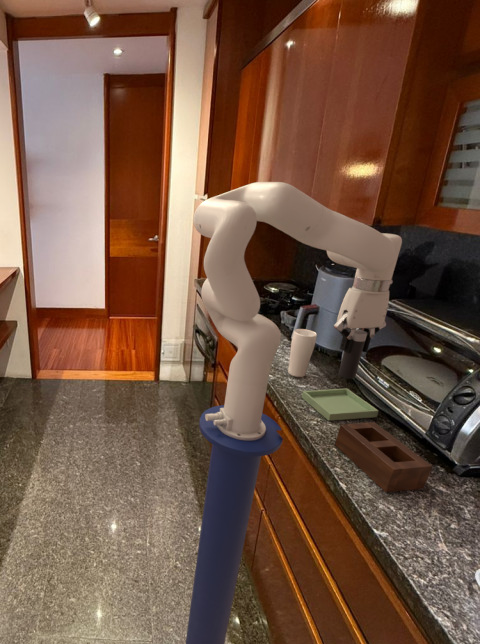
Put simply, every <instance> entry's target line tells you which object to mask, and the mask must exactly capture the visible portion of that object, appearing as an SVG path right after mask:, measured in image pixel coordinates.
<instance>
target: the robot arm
mask: <svg viewBox="0 0 480 644" xmlns="http://www.w3.org/2000/svg"><path fill="white" fill-rule="evenodd" d="M192 221H193V226H194V228H195V230H196V231H197V233H199V234H200V235H201V236H203V237H206V238H209V239H210V241H209V242H208V245H207V247H206V251H205V253H204V257H203V270H204V273H205V276H206V279H205V280H204V282H203V284H202V286H201V289H200V290H201V291H200V296H201V300H202V303H203V306H204V307H205V310H206V312H207V313H208V315H209V317H210V319H211V321H212V323H213V324H214V326H215V328H216V330H217V331H218V333H219V334H220V335H221V336H222V337H223V338H224V339H226V340H227V341H229V342H230V343H231V344H233V345H234V346H236V348H237V352H236V354H235V355H234V356H233V358H232V359H231V361H230V364H229V370H228V376H227V385H226V390H225V398H224V404H223V405H224V408H220V412H217V413H216V414H206V415H205V419H206V421H213V423H214V425H217V427H218V428H219V430H220V431H221V432H223V433H224V434H226V435H227V436H229V437H232V438H235V439H238V440H244V441H252V440H257V439H260V438H261V437H263V436H264V434H265V431H266V427H265V424H264V423H263V422H262V421H261V417H262V413H263V411H264V405H265V401H266V395H267V389H268V385H269V380H270V379H269V378H270V375H271V374H270V373H271V369H272V364H273V362H274V359H275V355H276V353H277V352H278V349H279V347H280V344H281V340H282V335H281V331H280V329H279V327H278V326H277V325H276V323H275V322H273V321H272V320H271V319H270V318H267V317H266V316H264V315H261V314H260V313H259V312H260V308H261V297H260V295H259V293H258V290H257V288H256V285H255V284H254V281H253V279H252V277H251V274H250V272H249V270H248V268H247V264H246V261H245V254H246V253H245V252H246V248H247V247H248V244H249V243H250V240H251V239H252V236H253V235H254V234H255V231H256V229H257V228H256V227H257V222H262V223H265V224H268V225H270V226H272V227H274V228H275V229H276V230H279V231H281V232H283V233H284V234H286V235H288V236H290V238H292V239H295V240H296V241H297V242H300V243H302V244H304V245H307V246H309V247H311V248H315V249H319V250H323V251H326V254H327V257H328V258H329V260H331V261H332V262H334V263H336V264H339V265H341V266H346V267H349V268H355V269H356V270H355V274H354V278H353V282H352V287H349V288H348V290H347V291H346V293H345V295H344V298H343V300H342V303H341V305H340V308H339V312H338V315H337V318H336V323H335V324H333V328H334V329H335V330H336V331H338V332H339V333H340V335H341V336H342V338H341V342H340V345H339V346H340V347H339V349H340V350H341V351H343V353H344V352H346V353H350V352H351V349H352V345H353V341H354V340H353V339H352V337H353V335H354V333H355V331H356V329H361V330H363V331H365V332H367V337H366V340H365V344H364V347H363V351H362V353H368V351H369V348H370V347H369V346H370V343H371V339H373V338H374V337H375V335H376V334H377V333H379V331H380V330H381V329H383V328H385V327H386V326H387V323H386V316H387V312H388V309H389V301H390V290H389V289H390V287H391V285H392V284H393V282H394V281H393V275H394V273H395V272H394V271H395V268H396V265H397V261H398V258H399V256H400V255H399V254H400V251H401V248H402V245H403V240H402V237H401V236H400V235H398V234H395V233H384V232H380V231H379V230H377V229H375V228H374V227H372V226H370V225H368V224H366V223H363V222H361V221H358V220H355V219H354V218H351V217H349V216H346V215H344V214H342V213H340V212H337V211H335V210H333V209H331V208H328V207H327V206H325V205H323V204H321V203H320V202H318V201H317V200H315V199H314V198H312V197H311V196H310V195H307V194H306V193H304V191H302V190H300V189H299V188H297V187H295V186H293V185H292V184H289V183H287V182H282V181H256V182H252V183H249V184H246V185H243V186H240V187H238V188H235V189H232V190H229V191H227V192H226V191H225V192H224V193H220V194H219V195H215V196H212V197H210V198H207V199H205V200H204V201H203V202H201V203H200V204H199V205H198V206H197V207H196V209H195V211H194V214H193V219H192ZM349 330H350V331H349Z"/></svg>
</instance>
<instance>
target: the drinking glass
mask: <svg viewBox="0 0 480 644" xmlns="http://www.w3.org/2000/svg"><path fill="white" fill-rule="evenodd" d="M317 337H318V334H317V333H316V332H315V331H313V330H311V329H305V328H297V329H294V330H293V332H292V337H291V342H290V352H289V361H288V368H287V373H288V374H289V375H290V376H292V377H295V378H303V377H305V376H306V375H307V370H308V367H309V364H310V361H311V358H312V355H313V352H314V349H315V346H316V341H317Z"/></svg>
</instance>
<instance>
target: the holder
mask: <svg viewBox="0 0 480 644" xmlns="http://www.w3.org/2000/svg"><path fill="white" fill-rule="evenodd" d="M334 446H335V447H336V448H337V449H338V450H339V451H340V452H342V453H343V454H344V455H345V456H346V457H347V458H348V459H349V460H350V461H351V462H353V464H355V466H357V467H358V468H359V469H360V470H361V471H362V472H364V474H365V475H366V476H367V477H369V479H371V480H372V481H373V482H374V483H375V484H376V485H377V486H378V487H379V488H380V489H382V490H383V492H384V493H391V492H392V493H393V492H403V491H412V490H414V491H415V490H424V488H425V486H426V484H427V481H428V478H429V477H430V473H431V471H432V470H433V465H432V464H430V463H429V462H428V461H426V460H425V459H424V458H422V457H421V456H420V455H419V454H417V453H416V452H414V450H412V449H411V448H409V447H408V446H406V445H405V444H404V443H402V441H400V440H398V439H397V438H396V437H394V436H393V435H392V434H391V433H389V432H388V431H386V430H385V429H384V428H383V427H381V426H380V425H378V424H377V423H376V422H374V421H371V422H357V423H346V424H345V423H344V424H340V425H339V429H338V432H337V436H336V439H335V443H334Z"/></svg>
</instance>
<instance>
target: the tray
mask: <svg viewBox="0 0 480 644" xmlns="http://www.w3.org/2000/svg"><path fill="white" fill-rule="evenodd" d="M301 398H302V399H303V400H304V401H305V402H306V403H308V404H309V405H310V406H311V407H312V408H313V409H315V411H316V412H318V413H319V414H320V415H321V416H322V417H324V418H325V419H326V420H327V421H329V422H330V421H343V420H356V419H357V420H359V419H369V418H377V417H378V415H379V410H378V409H377V408H375V407H374V406H373V405H371V404H370V403H369V402H367V401H365V400H364V399H363V398H362V397H360V396H359V395H357V394H356V393H354V392H353V391H351V390H350V389H349V388H332V389H329V388H328V389H316V390H315V389H314V390H303V391H302V394H301Z"/></svg>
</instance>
